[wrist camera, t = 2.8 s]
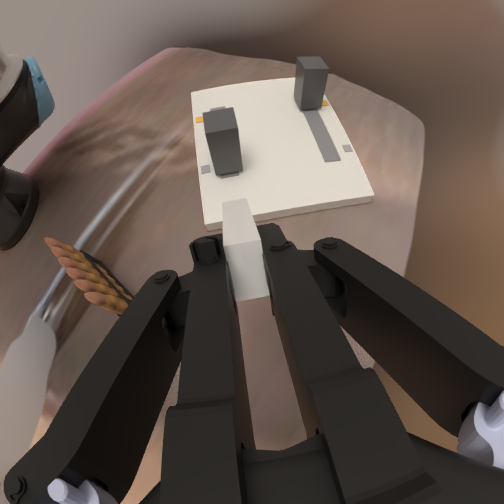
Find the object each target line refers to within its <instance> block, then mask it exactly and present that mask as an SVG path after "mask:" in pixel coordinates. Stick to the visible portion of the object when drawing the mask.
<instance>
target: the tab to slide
mask: <svg viewBox="0 0 504 504" xmlns="http://www.w3.org/2000/svg"><path fill="white" fill-rule="evenodd" d="M202 114H203V122H204V130H205V136H206V140H207V144H208V148H209V151H210V155H211V159H212V163H213V167H214V170H215V174H216V176H217V175H222V174H227V173H232V172H237V171H243V166H242V157H241V148H240V140H239V131H238V125H237V121H236V117H235V112H234V108H233V107H230V108H225V109H219V110H214V111H209V112H204V113H202Z"/></svg>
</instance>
